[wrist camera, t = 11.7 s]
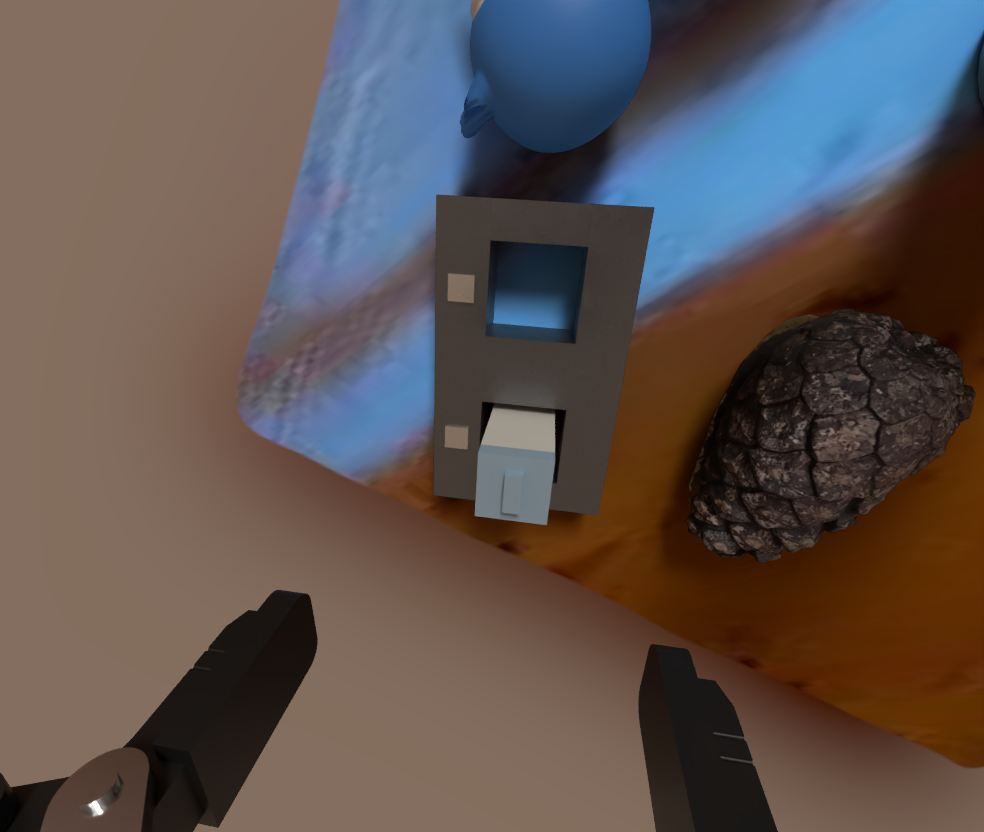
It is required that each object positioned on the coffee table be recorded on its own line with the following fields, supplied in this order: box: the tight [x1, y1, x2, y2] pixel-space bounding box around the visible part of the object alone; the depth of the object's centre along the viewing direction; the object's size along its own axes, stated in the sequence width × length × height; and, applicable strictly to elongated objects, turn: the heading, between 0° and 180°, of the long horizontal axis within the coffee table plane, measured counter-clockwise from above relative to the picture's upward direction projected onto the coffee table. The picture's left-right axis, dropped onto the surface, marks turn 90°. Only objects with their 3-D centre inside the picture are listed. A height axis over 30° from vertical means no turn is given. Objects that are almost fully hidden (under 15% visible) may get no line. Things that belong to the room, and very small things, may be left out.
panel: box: [434, 195, 654, 515], centre depth 31 cm, size 12×20×4 cm, turn 176°
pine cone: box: [685, 309, 976, 563], centre depth 28 cm, size 10×18×10 cm, turn 168°
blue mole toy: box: [460, 0, 651, 153], centre depth 22 cm, size 12×12×8 cm
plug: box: [475, 403, 555, 525], centre depth 30 cm, size 4×4×11 cm
